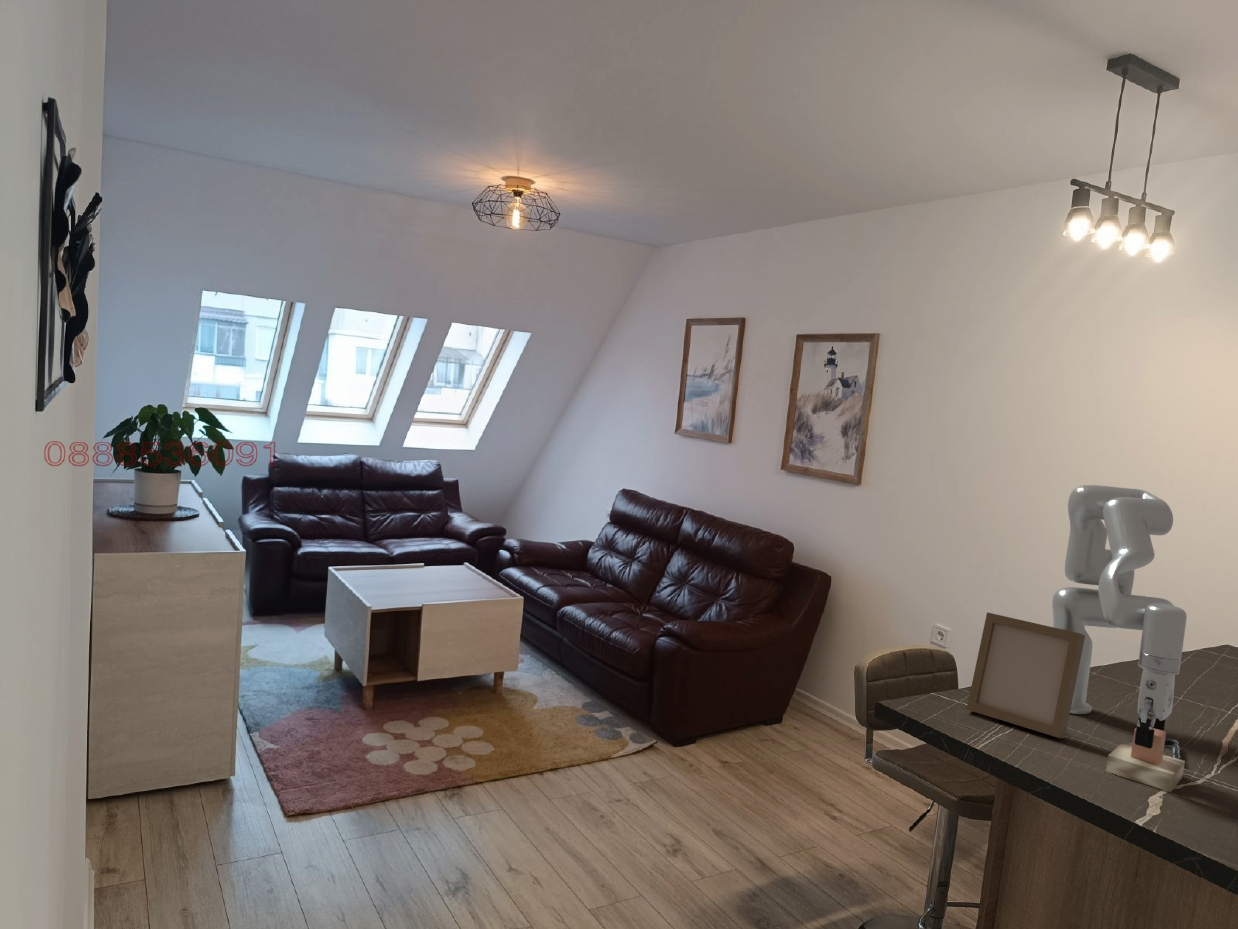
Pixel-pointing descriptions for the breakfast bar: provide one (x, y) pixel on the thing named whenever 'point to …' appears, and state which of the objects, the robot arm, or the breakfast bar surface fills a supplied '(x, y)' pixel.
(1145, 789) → the breakfast bar surface
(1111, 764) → the birch block
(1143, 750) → the terracotta block
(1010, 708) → the photo frame
